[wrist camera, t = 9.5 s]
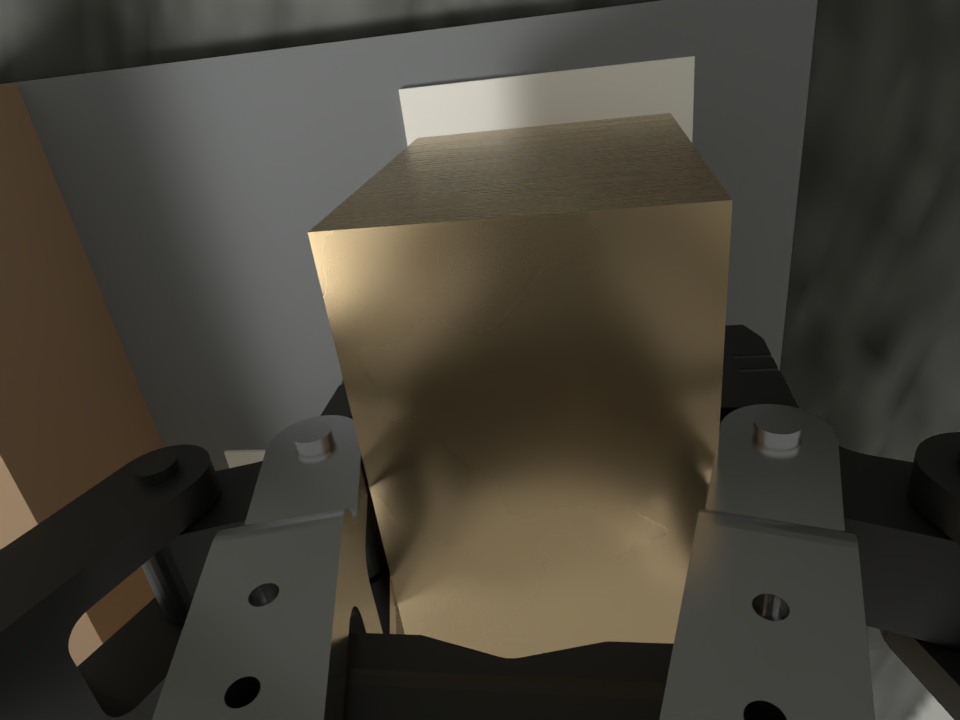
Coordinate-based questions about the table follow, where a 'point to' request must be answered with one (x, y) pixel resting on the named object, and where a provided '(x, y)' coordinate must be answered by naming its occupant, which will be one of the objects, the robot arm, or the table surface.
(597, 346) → the bracket
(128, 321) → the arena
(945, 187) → the table surface
